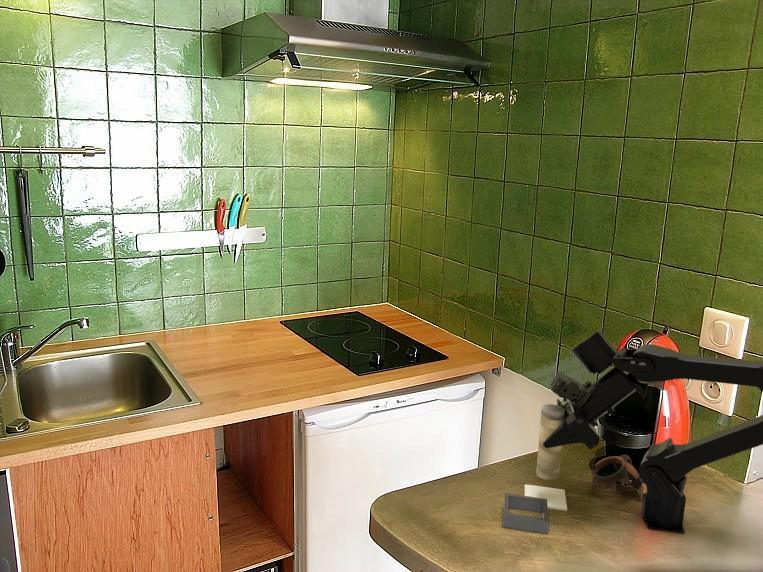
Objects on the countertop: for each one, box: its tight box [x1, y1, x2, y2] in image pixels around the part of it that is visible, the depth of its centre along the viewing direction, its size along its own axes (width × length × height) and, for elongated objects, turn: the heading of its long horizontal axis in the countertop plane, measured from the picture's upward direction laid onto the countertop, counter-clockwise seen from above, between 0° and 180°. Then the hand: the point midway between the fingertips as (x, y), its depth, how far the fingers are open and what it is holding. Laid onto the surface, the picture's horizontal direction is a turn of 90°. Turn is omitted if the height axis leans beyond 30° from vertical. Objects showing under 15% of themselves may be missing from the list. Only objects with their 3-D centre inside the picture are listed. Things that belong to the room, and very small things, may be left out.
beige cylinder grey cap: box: [535, 403, 565, 481], centre depth 123 cm, size 4×4×14 cm
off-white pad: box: [524, 484, 568, 512], centre depth 126 cm, size 8×8×1 cm
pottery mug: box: [591, 454, 644, 502], centre depth 130 cm, size 12×10×8 cm
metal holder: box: [502, 493, 550, 535], centre depth 118 cm, size 8×8×2 cm
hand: (543, 440), depth 123 cm, fingers closed on beige cylinder grey cap, 4 cm apart
